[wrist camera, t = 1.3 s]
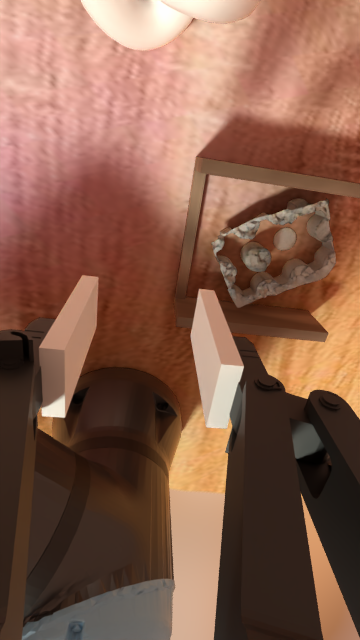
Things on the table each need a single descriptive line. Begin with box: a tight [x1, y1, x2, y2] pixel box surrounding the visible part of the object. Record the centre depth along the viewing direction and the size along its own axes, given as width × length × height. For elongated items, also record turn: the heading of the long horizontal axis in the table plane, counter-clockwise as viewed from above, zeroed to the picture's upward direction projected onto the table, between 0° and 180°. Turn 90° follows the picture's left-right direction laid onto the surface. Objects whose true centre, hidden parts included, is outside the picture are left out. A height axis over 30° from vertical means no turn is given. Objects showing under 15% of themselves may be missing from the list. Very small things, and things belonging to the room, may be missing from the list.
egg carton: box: [211, 198, 336, 308], centre depth 31 cm, size 11×8×4 cm
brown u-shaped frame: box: [174, 157, 360, 342], centre depth 31 cm, size 14×14×5 cm
